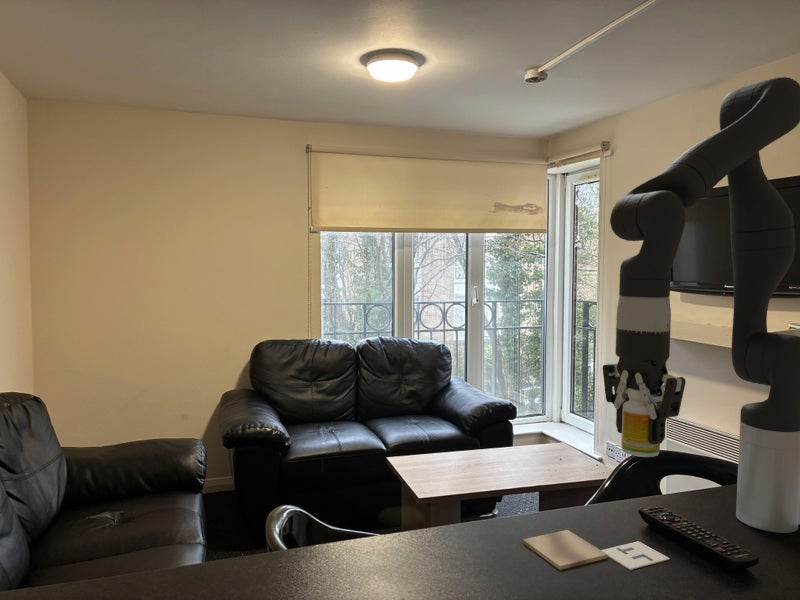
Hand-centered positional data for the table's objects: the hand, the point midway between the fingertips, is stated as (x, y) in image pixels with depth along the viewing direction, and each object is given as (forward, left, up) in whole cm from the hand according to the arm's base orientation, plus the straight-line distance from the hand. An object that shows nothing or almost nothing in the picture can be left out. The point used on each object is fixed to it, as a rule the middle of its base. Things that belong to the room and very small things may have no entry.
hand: (639, 437), depth 88 cm
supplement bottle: (0, 0, -2) cm, 2 cm away
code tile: (0, 0, -18) cm, 18 cm away
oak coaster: (+9, -6, -18) cm, 21 cm away
